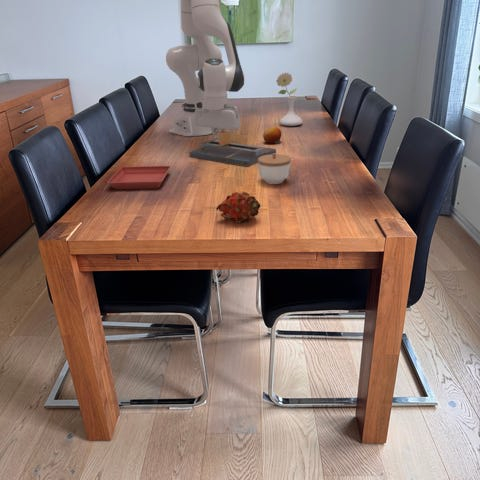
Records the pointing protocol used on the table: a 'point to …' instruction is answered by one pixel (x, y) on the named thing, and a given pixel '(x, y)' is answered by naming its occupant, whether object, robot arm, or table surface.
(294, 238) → the table surface
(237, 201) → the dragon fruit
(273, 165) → the lidded jar
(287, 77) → the flower in vase
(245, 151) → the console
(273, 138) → the fruit
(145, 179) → the plant saucer
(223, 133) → the block
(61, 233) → the table surface
